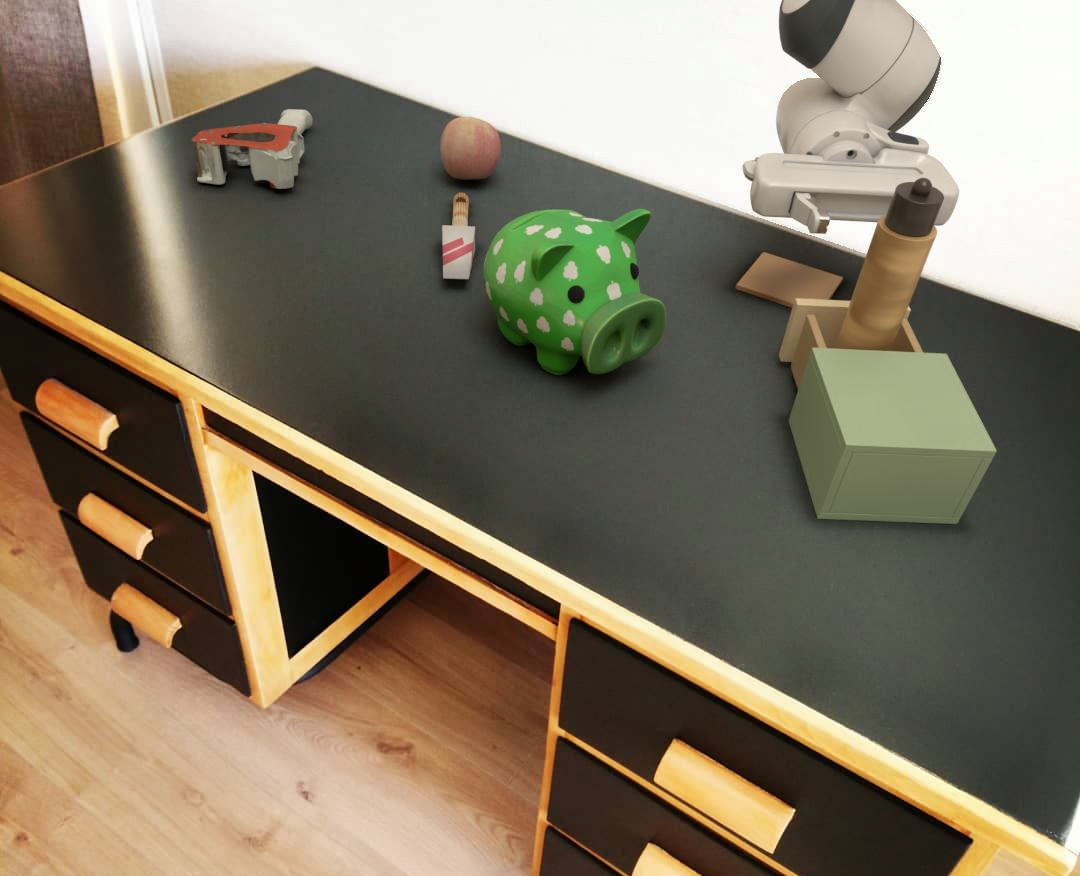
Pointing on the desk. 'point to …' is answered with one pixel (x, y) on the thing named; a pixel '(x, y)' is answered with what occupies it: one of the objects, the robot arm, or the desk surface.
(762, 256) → the cork mat
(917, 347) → the drawer
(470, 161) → the apple
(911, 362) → the cabinet
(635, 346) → the piggy bank
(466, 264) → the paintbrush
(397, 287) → the desk surface
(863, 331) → the pepper mill
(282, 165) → the tape dispenser
